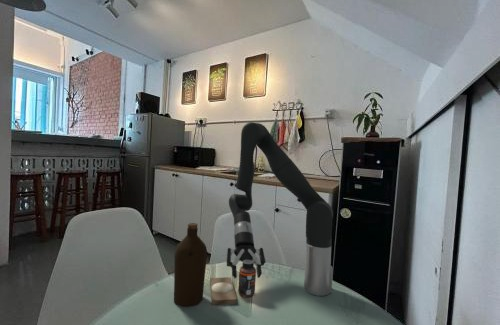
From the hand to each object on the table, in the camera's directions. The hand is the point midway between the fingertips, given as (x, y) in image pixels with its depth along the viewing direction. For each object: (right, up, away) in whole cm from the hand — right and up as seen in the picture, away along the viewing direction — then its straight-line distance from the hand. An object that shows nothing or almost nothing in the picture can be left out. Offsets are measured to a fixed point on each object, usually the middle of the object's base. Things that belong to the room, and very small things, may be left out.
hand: (247, 277), depth 86 cm
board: (-9, -5, 0) cm, 11 cm away
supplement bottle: (0, -6, 0) cm, 6 cm away
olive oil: (-20, -5, -5) cm, 21 cm away
